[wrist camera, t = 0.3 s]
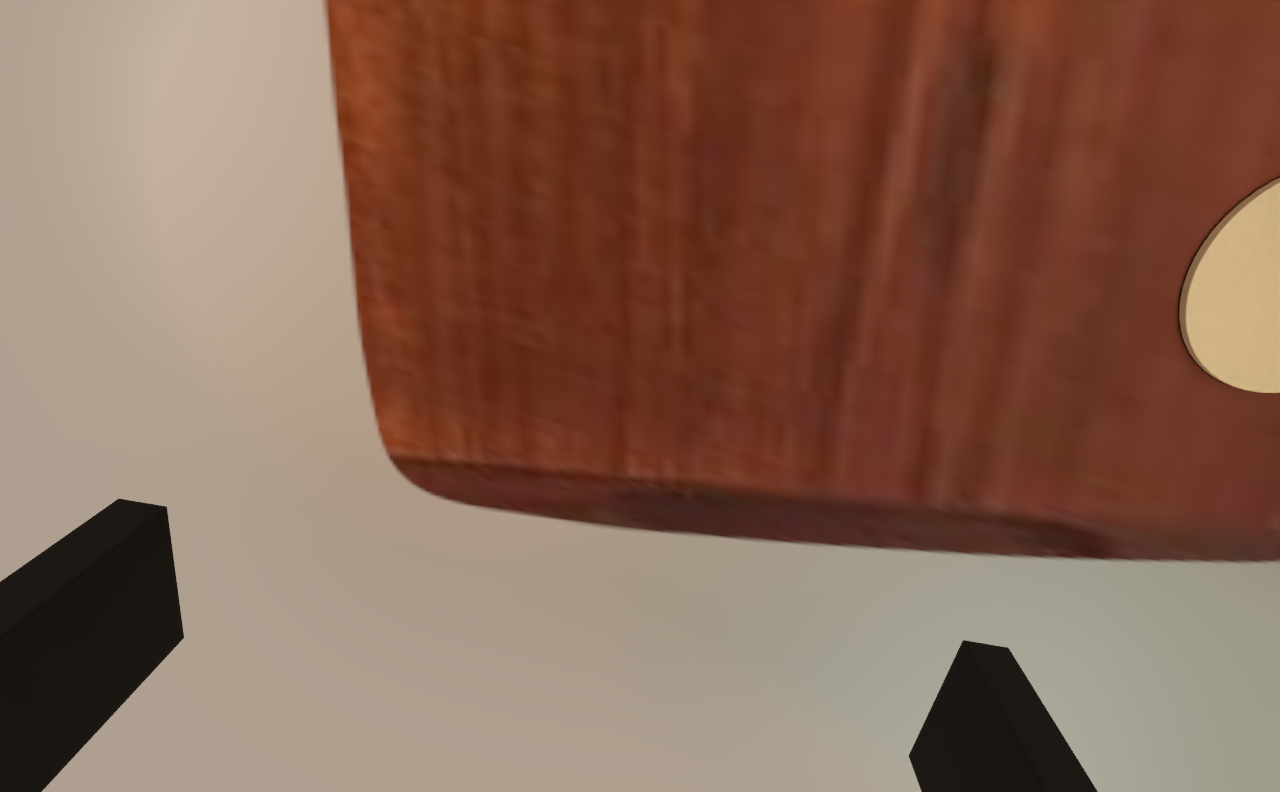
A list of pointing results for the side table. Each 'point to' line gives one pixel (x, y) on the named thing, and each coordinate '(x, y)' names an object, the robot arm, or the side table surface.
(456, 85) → the side table surface
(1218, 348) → the coaster
